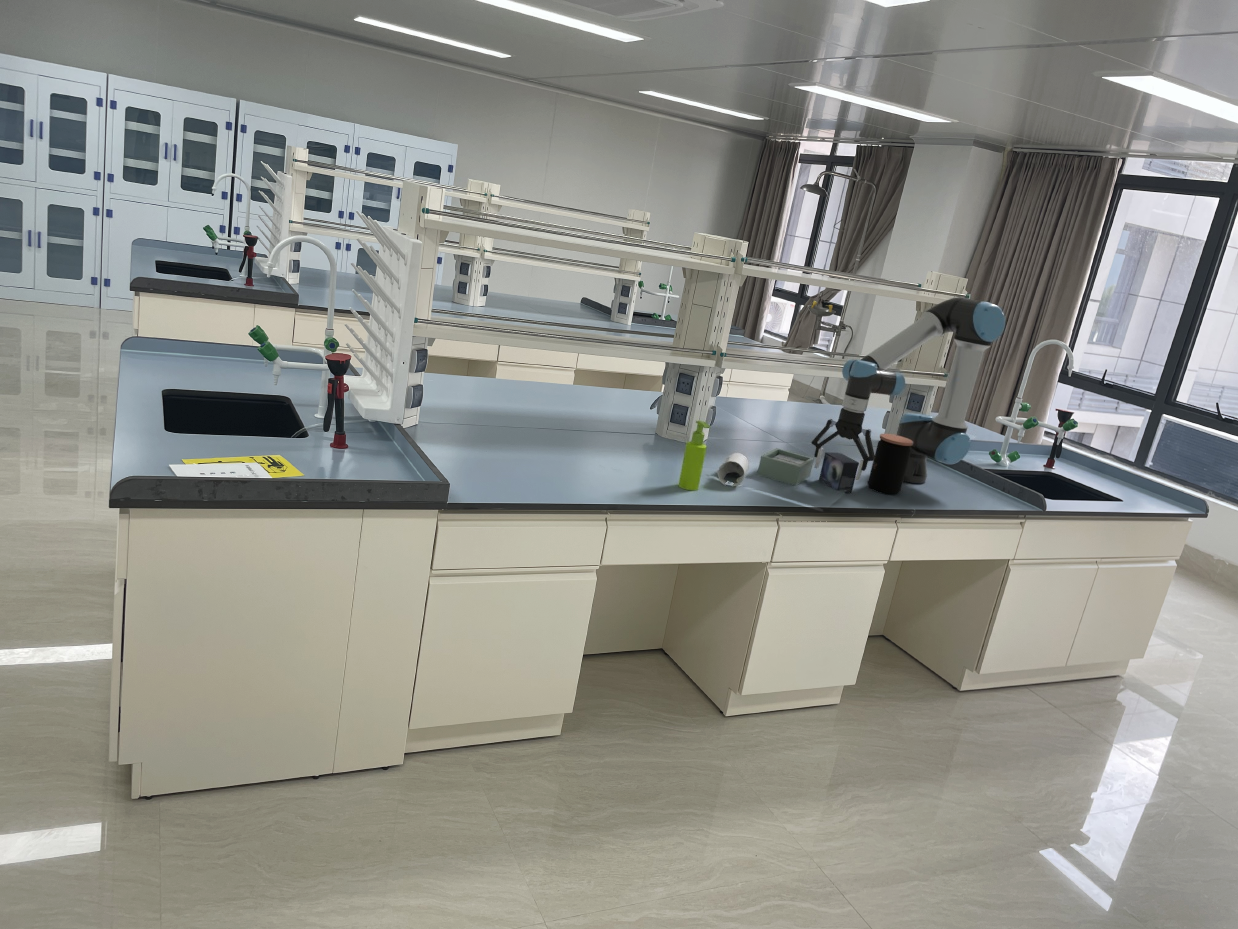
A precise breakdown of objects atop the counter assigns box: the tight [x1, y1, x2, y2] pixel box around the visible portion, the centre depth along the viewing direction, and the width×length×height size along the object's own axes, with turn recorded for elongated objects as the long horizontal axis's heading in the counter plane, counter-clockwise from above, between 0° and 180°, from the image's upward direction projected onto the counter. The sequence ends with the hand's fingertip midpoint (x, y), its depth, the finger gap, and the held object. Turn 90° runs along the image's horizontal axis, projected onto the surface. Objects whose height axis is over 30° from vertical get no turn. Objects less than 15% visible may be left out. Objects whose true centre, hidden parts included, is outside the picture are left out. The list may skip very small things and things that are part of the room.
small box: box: [818, 451, 860, 494], centre depth 281 cm, size 11×6×10 cm, turn 23°
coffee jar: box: [867, 433, 913, 496], centre depth 287 cm, size 11×11×18 cm
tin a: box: [775, 454, 805, 464], centre depth 286 cm, size 9×6×5 cm
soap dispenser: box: [678, 420, 711, 491], centre depth 253 cm, size 6×7×20 cm
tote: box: [756, 447, 815, 487], centre depth 283 cm, size 13×16×7 cm
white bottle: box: [717, 452, 750, 487], centre depth 272 cm, size 8×19×8 cm, turn 164°
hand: (836, 473), depth 281 cm, fingers open, 13 cm apart
